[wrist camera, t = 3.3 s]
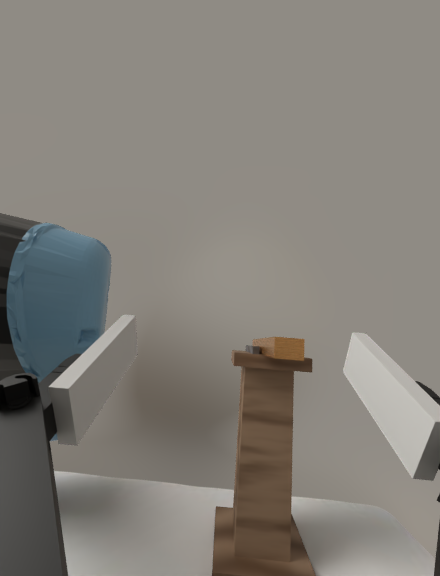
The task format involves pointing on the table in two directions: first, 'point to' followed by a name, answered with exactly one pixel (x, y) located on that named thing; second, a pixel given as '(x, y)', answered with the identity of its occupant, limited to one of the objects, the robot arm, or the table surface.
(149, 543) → the table surface
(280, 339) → the wood grain block
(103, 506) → the table surface
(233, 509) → the stand
